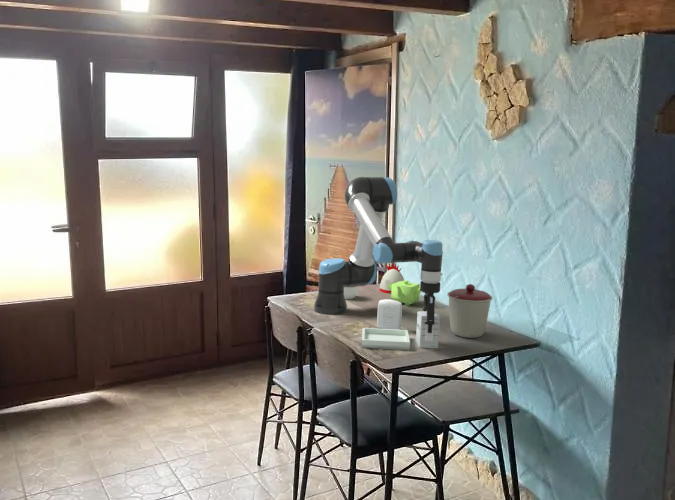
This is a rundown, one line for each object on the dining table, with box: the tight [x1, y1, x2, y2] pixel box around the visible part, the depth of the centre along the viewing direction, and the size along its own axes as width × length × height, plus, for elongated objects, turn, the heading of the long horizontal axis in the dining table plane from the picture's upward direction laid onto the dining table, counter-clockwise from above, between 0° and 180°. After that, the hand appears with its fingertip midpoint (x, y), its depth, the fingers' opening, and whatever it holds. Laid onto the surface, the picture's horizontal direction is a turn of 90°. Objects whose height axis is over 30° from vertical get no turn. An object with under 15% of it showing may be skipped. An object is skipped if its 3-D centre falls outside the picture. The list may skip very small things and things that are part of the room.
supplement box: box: [415, 310, 441, 349], centre depth 242 cm, size 7×7×13 cm
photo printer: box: [376, 298, 403, 330], centre depth 262 cm, size 10×4×12 cm, turn 72°
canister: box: [447, 283, 494, 339], centre depth 257 cm, size 18×18×21 cm
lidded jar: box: [344, 286, 360, 300], centre depth 313 cm, size 11×11×9 cm
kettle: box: [388, 279, 422, 307], centre depth 306 cm, size 15×14×11 cm
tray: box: [361, 327, 411, 351], centre depth 244 cm, size 18×16×3 cm
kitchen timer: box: [379, 263, 405, 295], centre depth 331 cm, size 14×14×15 cm
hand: (427, 335), depth 242 cm, fingers open, 13 cm apart
